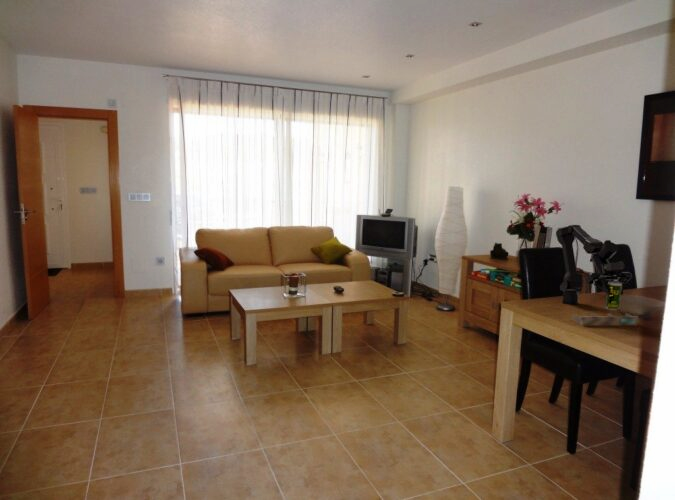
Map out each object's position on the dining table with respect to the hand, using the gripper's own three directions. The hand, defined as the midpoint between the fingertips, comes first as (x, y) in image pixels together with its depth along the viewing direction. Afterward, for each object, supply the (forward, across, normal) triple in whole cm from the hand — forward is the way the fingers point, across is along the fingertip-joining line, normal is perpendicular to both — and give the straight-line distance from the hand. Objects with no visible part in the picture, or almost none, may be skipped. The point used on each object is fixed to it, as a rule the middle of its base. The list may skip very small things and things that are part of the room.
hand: (615, 294), depth 200 cm
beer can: (+4, 0, +6) cm, 7 cm away
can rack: (+8, -3, +11) cm, 14 cm away
